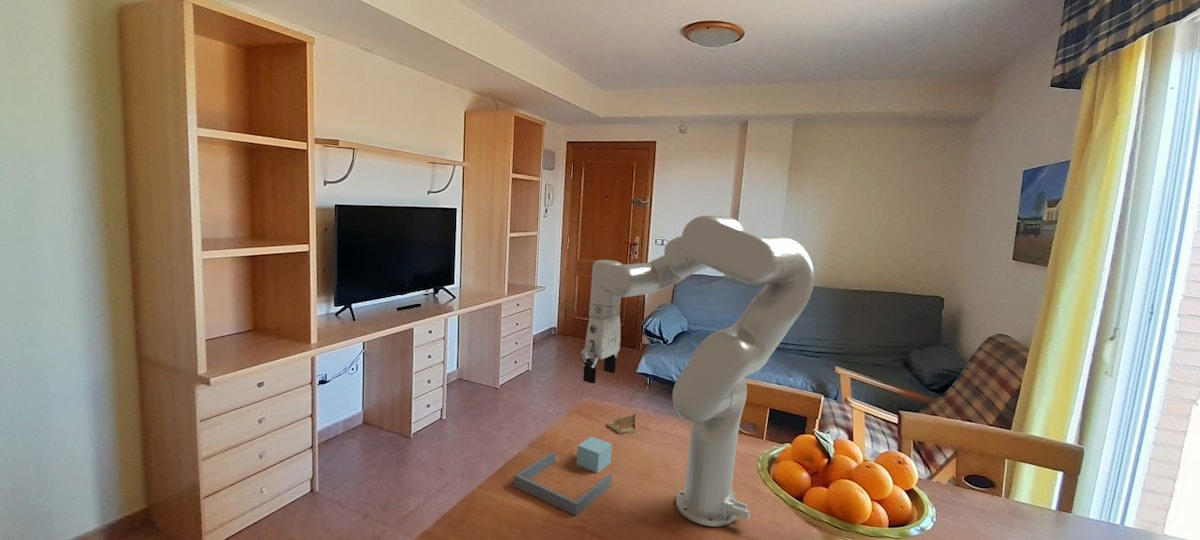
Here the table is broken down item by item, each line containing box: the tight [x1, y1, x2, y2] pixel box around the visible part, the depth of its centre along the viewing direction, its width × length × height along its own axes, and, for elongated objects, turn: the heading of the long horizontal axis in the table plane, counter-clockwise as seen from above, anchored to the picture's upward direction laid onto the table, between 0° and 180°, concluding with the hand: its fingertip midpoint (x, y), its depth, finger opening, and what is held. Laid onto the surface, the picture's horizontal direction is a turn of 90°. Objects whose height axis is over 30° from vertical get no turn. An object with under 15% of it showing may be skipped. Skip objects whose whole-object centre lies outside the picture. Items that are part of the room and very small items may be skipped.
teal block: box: [576, 436, 613, 474], centre depth 121 cm, size 6×6×5 cm
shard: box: [607, 413, 637, 434], centre depth 143 cm, size 11×8×2 cm
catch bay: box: [513, 450, 613, 516], centre depth 111 cm, size 17×14×2 cm
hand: (599, 376), depth 126 cm, fingers open, 9 cm apart
